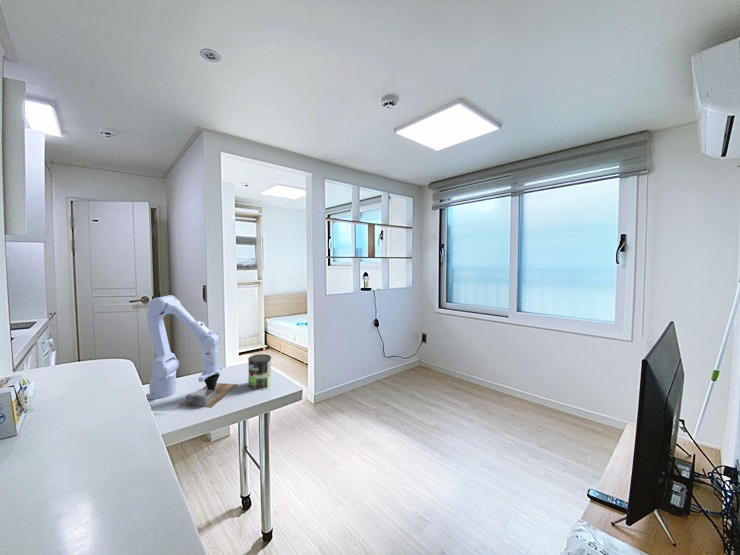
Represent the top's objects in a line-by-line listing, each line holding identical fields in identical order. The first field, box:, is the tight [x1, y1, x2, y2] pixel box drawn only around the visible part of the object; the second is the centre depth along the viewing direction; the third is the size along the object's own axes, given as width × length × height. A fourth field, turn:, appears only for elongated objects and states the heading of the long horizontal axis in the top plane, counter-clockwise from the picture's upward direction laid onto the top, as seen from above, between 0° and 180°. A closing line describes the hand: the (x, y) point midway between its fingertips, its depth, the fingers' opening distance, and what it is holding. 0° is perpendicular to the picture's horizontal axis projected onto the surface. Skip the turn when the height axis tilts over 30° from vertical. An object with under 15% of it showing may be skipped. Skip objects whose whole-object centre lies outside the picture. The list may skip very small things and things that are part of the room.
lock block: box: [191, 388, 215, 404], centre depth 127 cm, size 7×6×3 cm
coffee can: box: [247, 353, 272, 391], centre depth 144 cm, size 10×10×14 cm
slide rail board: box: [178, 382, 239, 409], centre depth 133 cm, size 14×22×5 cm, turn 176°
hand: (211, 391), depth 133 cm, fingers closed, pressing on slide rail board
